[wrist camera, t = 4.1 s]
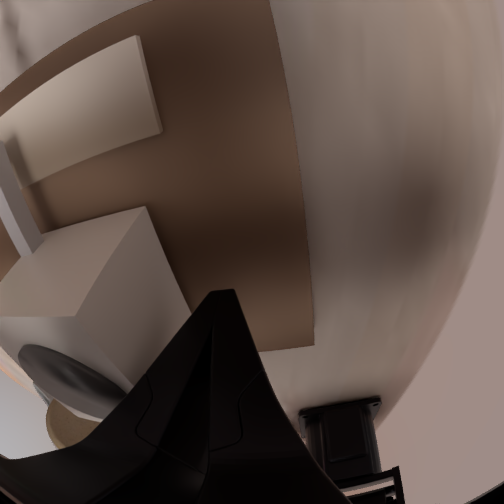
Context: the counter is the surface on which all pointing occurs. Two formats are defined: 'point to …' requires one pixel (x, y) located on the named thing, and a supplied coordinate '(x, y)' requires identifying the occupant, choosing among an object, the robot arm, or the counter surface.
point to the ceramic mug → (64, 422)
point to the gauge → (85, 302)
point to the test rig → (174, 151)
